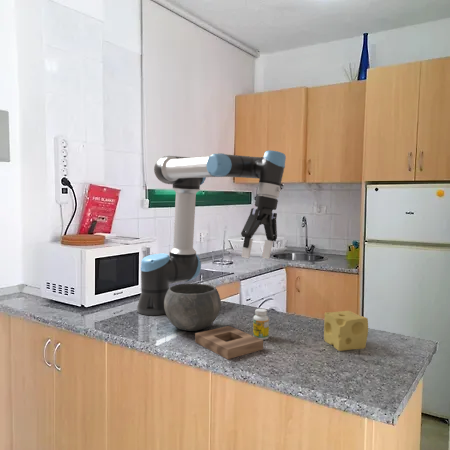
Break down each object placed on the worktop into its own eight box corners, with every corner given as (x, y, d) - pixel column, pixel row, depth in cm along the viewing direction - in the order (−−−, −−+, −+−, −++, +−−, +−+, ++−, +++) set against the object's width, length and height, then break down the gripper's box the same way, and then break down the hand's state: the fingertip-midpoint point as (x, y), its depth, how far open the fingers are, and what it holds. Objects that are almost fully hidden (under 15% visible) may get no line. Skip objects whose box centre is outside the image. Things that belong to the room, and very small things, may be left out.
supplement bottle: (271, 337, 145) (272, 310, 144) (261, 341, 141) (262, 313, 140) (260, 333, 149) (260, 307, 148) (249, 337, 145) (250, 309, 144)
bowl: (152, 328, 154) (152, 287, 153) (195, 317, 169) (195, 279, 168) (188, 342, 140) (188, 297, 139) (231, 328, 154) (231, 288, 153)
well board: (195, 342, 140) (195, 333, 139) (228, 334, 148) (228, 325, 148) (227, 359, 125) (227, 349, 125) (263, 349, 134) (263, 340, 133)
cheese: (338, 351, 132) (339, 320, 132) (322, 340, 143) (322, 311, 142) (367, 348, 135) (368, 318, 134) (349, 337, 145) (350, 309, 145)
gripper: (258, 193, 131) (245, 259, 132) (293, 202, 152) (282, 260, 152) (238, 190, 135) (226, 254, 136) (275, 200, 156) (264, 256, 157)
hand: (255, 258), depth 144 cm, fingers open, 13 cm apart
